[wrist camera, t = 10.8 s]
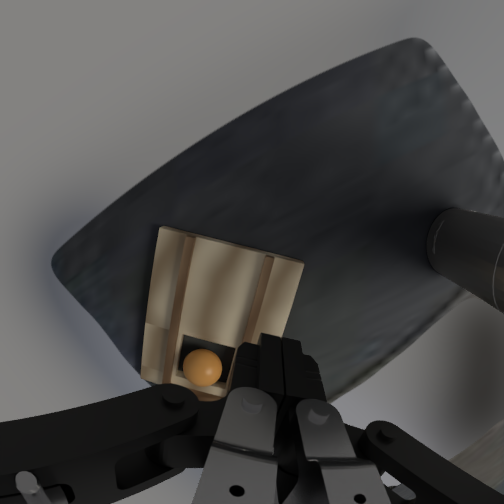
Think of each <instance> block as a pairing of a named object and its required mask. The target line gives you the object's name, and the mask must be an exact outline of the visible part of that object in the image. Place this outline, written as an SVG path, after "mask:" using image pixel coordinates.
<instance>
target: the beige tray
mask: <svg viewBox="0 0 504 504" xmlns="http://www.w3.org/2000/svg"><path fill="white" fill-rule="evenodd" d="M303 267H304V262H303V261H301V260H297V259H293V258H289V257H286V256H282V255H278V254H274V253H270V252H266V251H262V250H258V249H254V248H250V247H246V246H242V245H238V244H234V243H230V242H226V241H222V240H218V239H214V238H210V237H206V236H202V235H198V234H194V233H190V232H186V231H182V230H179V229H175V228H171V227H167V226H162V227H160V228H159V234H158V239H157V245H156V251H155V257H154V263H153V270H152V277H151V283H150V291H149V298H148V306H147V314H146V323H145V332H144V342H143V353H142V365H141V379H144V380H147V381H150V382H153V383H156V384H164V383H171V384H177V385H181V386H184V387H186V388H188V389H189V390H191V391H192V392H194V394H195V395H196V396H197V397H198V399H199V401H215V400H219V399H221V398H223V397H225V396H226V393H227V388H228V382H229V378H230V374H231V371H232V367H233V363H234V360H235V356H236V352H237V349H238V347H239V346H240V345H241V344H242V343H244V342H248V343H253V344H257V342H258V339H259V336H260V333H261V332H262V333H266V334H271V335H275V336H279V337H280V338H281V337H282V334H283V331H284V328H285V325H286V322H287V319H288V316H289V313H290V310H291V307H292V303H293V300H294V297H295V294H296V291H297V287H298V284H299V281H300V277H301V274H302V271H303ZM184 334H185V335H188V336H192V337H196V338H199V339H203V340H206V341H210V342H214V343H218V344H222V345H226V346H230V347H234V348H236V349H235V353H234V356H233V360H232V364H231V368H230V371H229V375H228V379H227V382H226V383H224V382H220V381H216V382H215V383H214V384H212V385H210V386H206V387H200V386H196V385H194V384H192V383H191V382H189V381H188V379H187V378H186V377H185V375H184V372H183V371H180V370H178V367H179V361H180V355H181V349H182V343H183V337H184Z"/></svg>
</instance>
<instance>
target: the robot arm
mask: <svg viewBox="0 0 504 504" xmlns="http://www.w3.org/2000/svg"><path fill="white" fill-rule="evenodd" d="M427 256H428V259H429V262H430V264H431V265H432V267H433V268H434V269H435V271H436V272H438V273H439V274H441V275H443V276H444V277H446V278H448V279H449V280H451V281H452V282H454V283H455V284H457V285H459V286H460V287H462V288H464V289H465V290H467V291H468V292H470V293H472V294H473V295H475V296H476V297H478V298H480V299H481V300H483V301H484V302H486V303H487V304H489V305H490V306H492V307H493V308H495V309H496V310H498V311H499V312H501V313H503V314H504V218H502V217H498V216H493V215H489V214H484V213H479V212H475V211H469V210H464V209H458V208H452V209H448V210H446V211H444V212H442V213H441V214H440V215H439V216H438V217H437V218H436V219H435V220H434V222H433V224H432V225H431V228H430V230H429V233H428V237H427ZM319 373H320V372H319V368H318V364H317V363H316V362H315V360H314V359H313V358H312V357H311V356H309V355H304V354H303V353H302V348H301V342H300V341H298V340H294V339H289V338H284V337H281V338H280V337H279V336H275V335H271V334H266V333H262V332H261V333H260V336H259V339H258V342H257V344H253V343H248V342H244V343H242V344H241V345H240V346H239V347H238V349H237V352H236V356H235V360H234V363H233V367H232V371H231V374H230V378H229V382H228V388H227V393H226V396H225V397H223V398H221V399H219V400H215V401H199V399H198V397H197V396H196V395H195V394H194V392H192V391H191V390H189V389H188V388H186V387H184V386H181V385H177V384H171V383H164V384H159V385H155V386H152V387H149V388H146V389H143V390H139V391H136V392H132V393H129V394H126V395H122V396H118V397H115V398H111V399H107V400H104V401H100V402H97V403H92V404H88V405H84V406H80V407H76V408H72V409H68V410H63V411H59V412H54V413H49V414H45V415H40V416H35V417H29V418H24V419H18V420H12V421H6V422H0V504H111V503H114V502H116V501H119V500H121V499H124V498H126V497H129V496H131V495H134V494H136V493H139V492H141V491H143V490H145V489H148V488H150V487H152V486H154V485H157V484H159V483H161V482H163V481H165V480H167V479H169V478H171V477H173V476H175V475H177V474H179V473H181V472H183V471H184V470H185V468H204V469H203V472H202V475H201V478H200V481H199V484H198V487H197V490H196V493H195V496H194V499H193V501H192V504H504V495H502V494H501V493H499V492H497V491H496V490H494V489H492V488H491V487H489V486H487V485H486V484H484V483H482V482H481V481H479V480H477V479H476V478H474V477H473V476H471V475H469V474H468V473H466V472H465V471H463V470H462V469H460V468H458V467H457V466H455V465H454V464H452V463H451V462H449V461H448V460H446V459H445V458H443V457H441V456H440V455H438V454H437V453H435V452H434V451H432V450H431V449H429V448H428V447H426V446H425V445H423V444H422V443H420V442H419V441H417V440H416V439H415V438H413V437H412V436H410V435H409V434H407V433H406V432H405V431H403V430H402V429H400V428H399V427H398V426H396V425H394V424H392V423H390V422H387V421H374V422H371V423H370V424H369V425H368V426H367V427H366V429H365V430H363V429H360V428H357V427H353V426H350V425H347V424H345V423H343V421H342V418H341V415H340V413H339V412H338V410H337V409H336V408H335V407H334V406H332V405H331V404H329V403H327V400H326V396H325V392H324V388H323V384H322V381H321V376H320V374H319ZM273 447H274V454H273V455H272V453H273ZM385 471H386V472H387V473H389V474H390V475H391V476H393V477H394V478H395V479H397V480H398V481H399V482H401V483H402V484H403V485H405V486H406V487H408V488H409V489H410V490H412V491H413V492H414V493H415V495H416V497H415V498H414V499H411V500H406V499H404V498H402V497H401V496H399V495H398V494H397V493H395V492H394V491H392V490H391V489H390V488H388V487H387V486H386V485H385V484H383V482H382V480H381V476H382V474H383V473H384V472H385Z"/></svg>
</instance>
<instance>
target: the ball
mask: <svg viewBox="0 0 504 504" xmlns="http://www.w3.org/2000/svg"><path fill="white" fill-rule="evenodd" d="M183 371H184V375H185V377H186V378H187V379H188V381H189V382H191V383H192V384H194V385H196V386H200V387H206V386H210V385H212V384H214V383H215V382H216V381H217V380H218V379H219V378H220V376H221V373H222V364H221V361H220V359H219V357H218V356H217V355H216V354H215V353H214V352H212V351H210V350H207V349H197V350H194V351H192V352H191V353H189V354H188V355H187V357H186V358H185V360H184V363H183Z"/></svg>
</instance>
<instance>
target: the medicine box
mask: <svg viewBox="0 0 504 504" xmlns="http://www.w3.org/2000/svg"><path fill="white" fill-rule="evenodd" d="M392 491H394V492H395V493H397V494H398V495H399V496H401V497H402V498H404V499H406V500H411V499H414V498H415V497H416V495H415V493H414V492H413V491H412V490H410V489H409V488H408V487H406V486H405V485H403V484H402V483H401V484H400V485H398V486H397V487H395V488H393V489H392Z"/></svg>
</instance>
